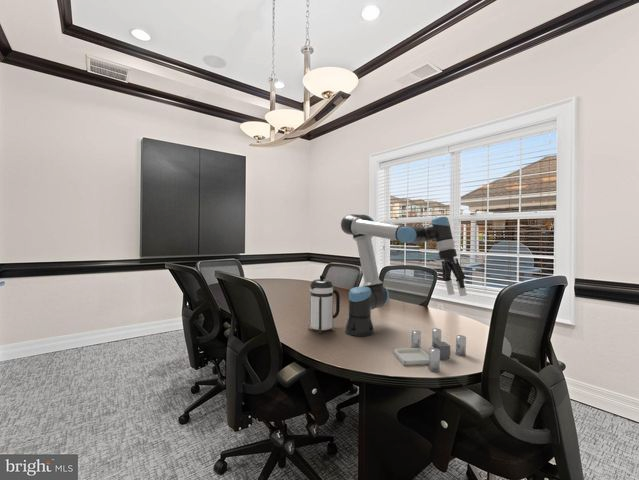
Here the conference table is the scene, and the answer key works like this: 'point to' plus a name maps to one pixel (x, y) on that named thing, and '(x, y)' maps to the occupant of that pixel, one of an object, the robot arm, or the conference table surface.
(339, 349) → the conference table surface
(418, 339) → the spacer
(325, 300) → the coffee press
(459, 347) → the cylinder
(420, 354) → the tray
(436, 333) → the cylinder
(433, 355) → the cylinder
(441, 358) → the slate cube
